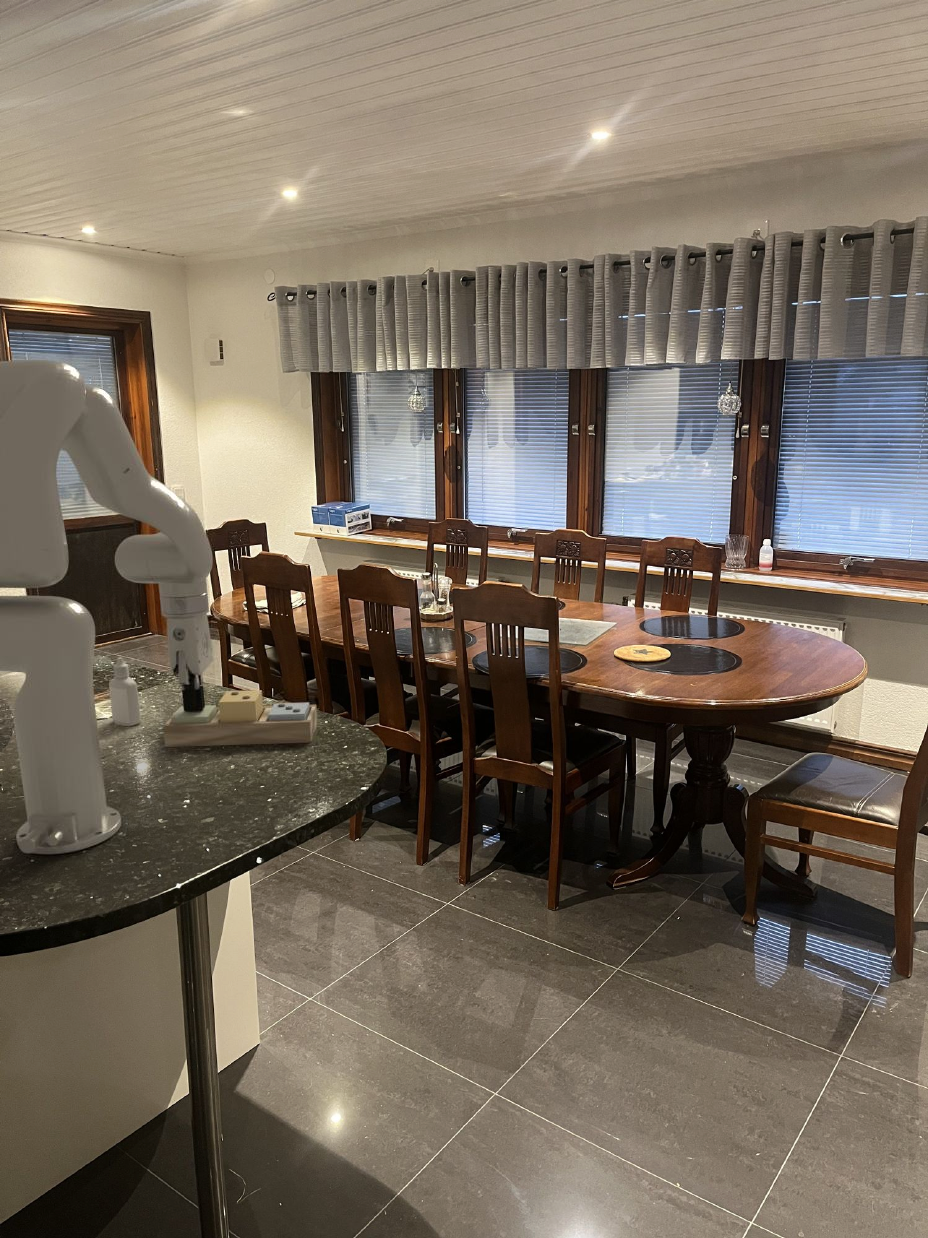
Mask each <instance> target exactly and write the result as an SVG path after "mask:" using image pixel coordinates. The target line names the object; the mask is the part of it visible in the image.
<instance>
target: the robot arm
mask: <svg viewBox="0 0 928 1238" xmlns="http://www.w3.org/2000/svg"><path fill="white" fill-rule="evenodd" d="M118 407H119V406H118V405H117V404H116V401H115V400H114V398H113V397H112V396H111V395H110V394H109V393H108V392H107V391H105V390H103V389H101V388H99V387H96V386H92V385H86V384H85V381H84V378H83V376H82V375H81V373H80V372H79V371H78V370H77V369H76V368H75V367H74V366H72V365H70V364H67V363H65V362H63V361H62V362H61V361H56V360H47V359H24V360H23V359H19V360H6V361H5V360H3V361H0V589H36V588H45V587H50V586H53V585H55V584H57V583H59V582H60V581H62V580H63V579H64V577H65V576H66V574H67V572H68V568H69V549H68V541H67V536H66V529H65V524H64V518H63V517H64V516H63V510H62V505H61V500H60V494H59V488H58V481H57V467H58V466H57V465H58V459H59V455H60V452H61V451H64V452H65V453H67V454H68V456H69V457H68V458H69V459H71V462H72V463H73V465H74V467H75V470H76V471H77V473H78V475H79V476H80V479H81V481H82V483H83V484H84V486H85V488H86V490H87V492H88V494H89V497H90V498H92V500H93V501H94V502H95V503H96V504H98V505H99V506H101V507H102V508H105V509H108V510H110V511H111V512H114V513H117V514H119V515H122V516H124V517H127V518H130V519H134V520H136V521H138V522H139V521H140V522H142V523H144V524H147V525H148V526H151V527H153V528H155V529H156V530H158V531H159V532H158V533H154V534H135V535H132V536H129V537H126V538H125V539H123V541H122V542H120V544H119V545H118V547H117V548H116V550H115V551H116V552H115V554H114V564H115V568H116V570H117V571H118V574H120V576H121V577H122V578H124V579H125V580H127V581H129V582H132V583H136V584H138V583H139V584H158V589H159V590H158V591H159V601H160V611H161V616H162V617H164V618H166V625H167V626H166V627H167V628H166V631H167V633H166V634H167V636H166V637H167V650H168V652H167V653H168V663H169V669H170V670H169V671H170V673H171V674H172V676H174V677H176V676H178V684H179V685H180V688H181V694H182V695H181V697H182V706H183V708H184V711H185V712H196V711H202V710H203V709H204V708H205V706H206V702H205V691H204V686H203V684H204V676H203V675H204V672H205V671H206V669H208V667H209V666H210V665H211V664H212V663H213V660H214V654H213V647H212V638H211V631H210V625H209V619H208V613H209V612H210V608H209V607H210V606H209V594H208V593H209V592H208V585H207V578H208V576H209V575H210V574H211V572H212V569H213V563H214V562H213V561H214V559H213V552H212V547H211V544H210V543H211V542H210V540H209V538H208V535H207V532H206V530H205V529H204V526H203V524H202V522H201V519H200V517H199V516H198V514H197V512H196V511H195V510H194V509H193V507H192V506H191V505H190V504H189V503H188V502H186V500H184V499H183V498H182V497H181V496H179V494H177V493H176V492H174V491H173V490H172V489H170V487H168V486H167V485H165V484H164V483H163V482H161V481H159V480H158V479H156V478H155V477H153V476H152V475H151V474H149V472H148V470H147V469H146V467H145V464H144V461H143V458H141V455H140V454H139V451H138V449H137V447H136V445H135V442H134V440H133V437H132V436H131V433H130V432H129V429H128V427H127V425H126V423H125V419H124V418H123V416H122V414H121V412H120V409H119V408H118ZM95 645H96V625H95V621H94V619H93V616H92V614H91V613H90V611H89V610H88V609H87V607H85V606H84V605H83V604H81V603H80V602H79V601H76V600H74V599H71V598H67V597H61V596H53V595H0V672H9V673H10V672H11V673H13V672H14V673H23V674H24V675H25V679H24V682H23V684H22V685H21V687H20V690H19V691H18V693H17V694H16V697H15V699H14V702H13V708H12V717H13V725H14V732H15V738H16V739H15V740H16V745H17V752H18V753H17V754H18V760H19V767H20V776H21V783H22V788H23V796H24V797H23V798H24V804H25V811H26V819H27V821H26V822H25V823H23V824H22V825H21V826H20V827H19V828H18V830H17V831H16V835H15V836H16V838H15V839H16V844H17V846H18V848H19V850H20V851H21V852H22V853H25V854H36V855H58V854H60V855H61V854H66V853H67V854H68V853H72V852H78V851H81V850H84V849H87V848H88V849H89V848H91V847H93V846H95V845H99V844H100V843H103V842H104V841H106V840H108V839H110V838H111V837H112V836H114V835H115V834H116V833H117V832H118V831H119V830H120V828H121V826H122V818H121V817H122V816H121V814H120V812H119V811H118V810H117V809H115V808H113V807H110V806H108V805H107V797H106V789H105V780H104V773H103V763H102V754H101V744H100V737H99V735H100V734H99V728H98V720H97V713H96V710H97V709H96V703H95V693H94V692H95V691H94V673H93V671H94V654H95Z"/></svg>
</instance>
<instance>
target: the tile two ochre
mask: <svg viewBox="0 0 928 1238" xmlns="http://www.w3.org/2000/svg"><path fill="white" fill-rule="evenodd" d="M263 701H264V699H263V691H262V690H260V689H257V690H255V689H253V690H227V691H225V692H224V694H223V696H222V697H221V698H220V700H219V701H218V708H219V711H220V722H249V721H258V719H259V717H260V715H261V714H262V712H263V706H264V703H263Z"/></svg>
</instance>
